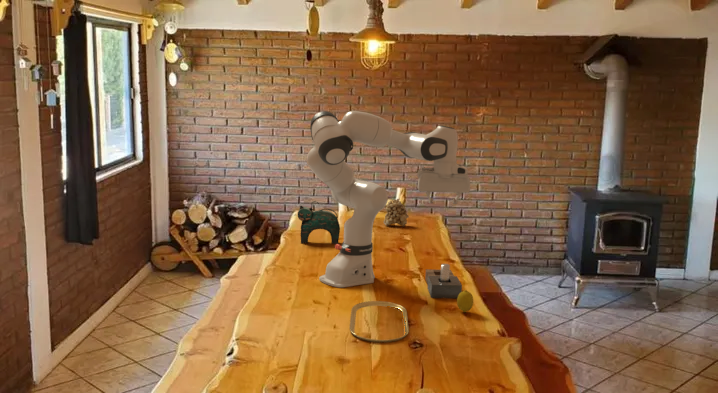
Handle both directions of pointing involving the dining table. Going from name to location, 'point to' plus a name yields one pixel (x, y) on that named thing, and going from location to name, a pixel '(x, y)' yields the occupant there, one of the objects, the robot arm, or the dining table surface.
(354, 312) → the rounded metal frame
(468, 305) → the lemon
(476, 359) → the dining table surface
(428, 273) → the socket block
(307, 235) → the ceramic cat
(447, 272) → the steel peg
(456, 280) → the grey square-hole block
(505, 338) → the dining table surface
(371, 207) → the robot arm
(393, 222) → the mineral formation
